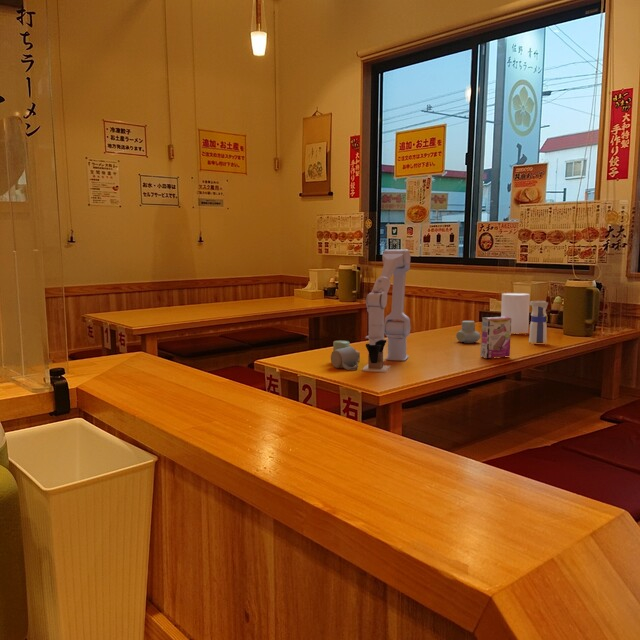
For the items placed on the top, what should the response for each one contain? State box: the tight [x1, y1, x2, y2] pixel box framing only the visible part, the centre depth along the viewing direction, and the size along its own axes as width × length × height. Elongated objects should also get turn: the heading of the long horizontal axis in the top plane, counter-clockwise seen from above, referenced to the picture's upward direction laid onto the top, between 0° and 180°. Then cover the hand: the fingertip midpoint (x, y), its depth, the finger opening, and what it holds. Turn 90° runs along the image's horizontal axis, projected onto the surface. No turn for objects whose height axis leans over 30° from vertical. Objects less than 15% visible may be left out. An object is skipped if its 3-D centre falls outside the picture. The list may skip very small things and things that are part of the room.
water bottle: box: [528, 291, 550, 344], centre depth 272 cm, size 8×9×25 cm
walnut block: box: [367, 351, 384, 369], centre depth 221 cm, size 5×5×6 cm
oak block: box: [356, 350, 361, 363], centre depth 236 cm, size 4×4×4 cm
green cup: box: [332, 340, 351, 352], centre depth 234 cm, size 6×6×8 cm
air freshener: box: [455, 320, 481, 344], centre depth 277 cm, size 11×8×10 cm
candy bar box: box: [480, 316, 512, 359], centre depth 240 cm, size 11×5×16 cm, turn 111°
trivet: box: [361, 363, 391, 373], centre depth 221 cm, size 9×9×1 cm
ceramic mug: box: [330, 346, 359, 371], centre depth 223 cm, size 11×8×8 cm
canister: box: [500, 292, 531, 334], centre depth 304 cm, size 14×14×20 cm
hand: (376, 361), depth 221 cm, fingers open, 7 cm apart
